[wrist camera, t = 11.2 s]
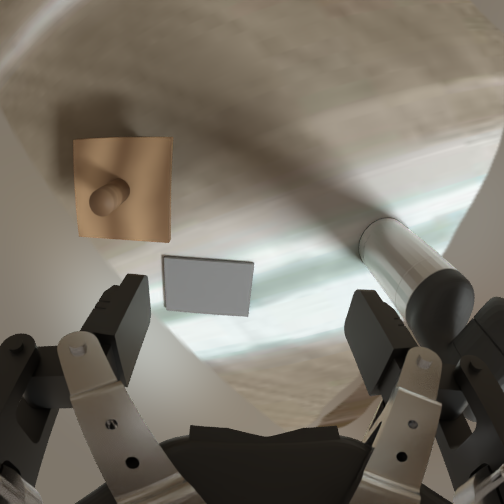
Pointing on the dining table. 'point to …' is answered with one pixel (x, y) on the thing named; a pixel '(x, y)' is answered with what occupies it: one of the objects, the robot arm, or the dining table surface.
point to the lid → (123, 187)
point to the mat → (208, 286)
